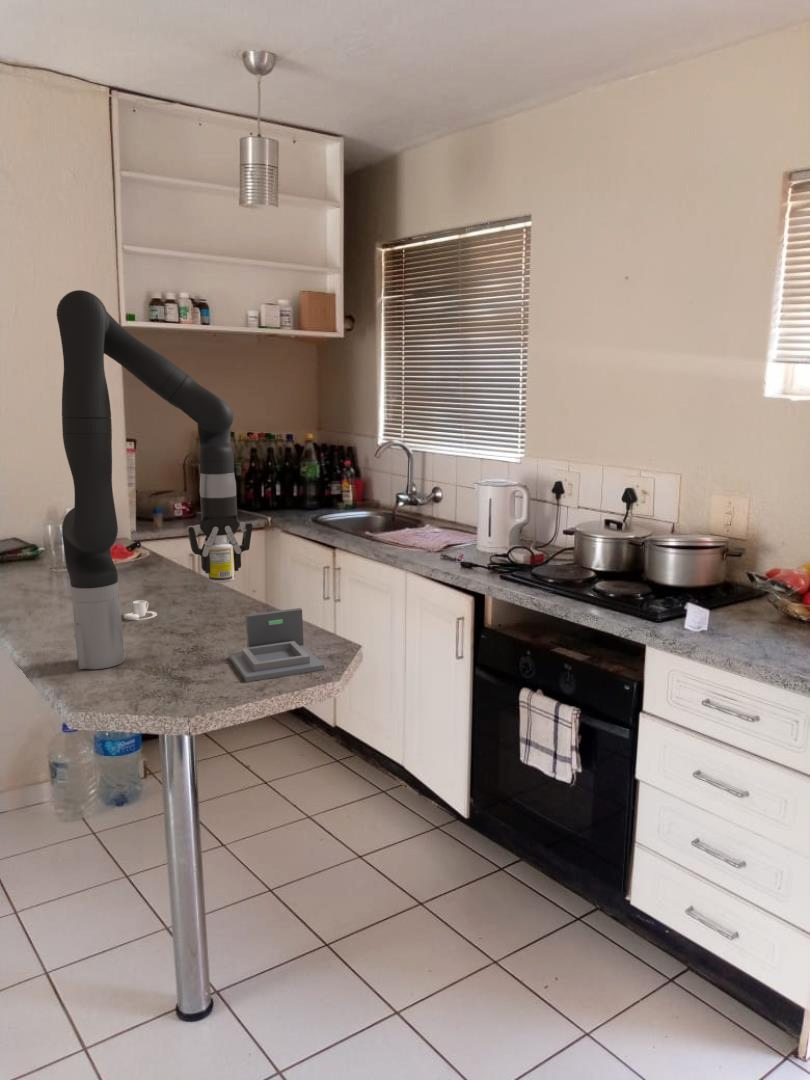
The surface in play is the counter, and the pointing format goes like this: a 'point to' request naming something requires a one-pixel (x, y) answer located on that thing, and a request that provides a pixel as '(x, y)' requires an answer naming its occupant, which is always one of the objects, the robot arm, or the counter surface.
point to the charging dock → (274, 647)
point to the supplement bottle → (221, 560)
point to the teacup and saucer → (139, 611)
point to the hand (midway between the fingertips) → (221, 571)
